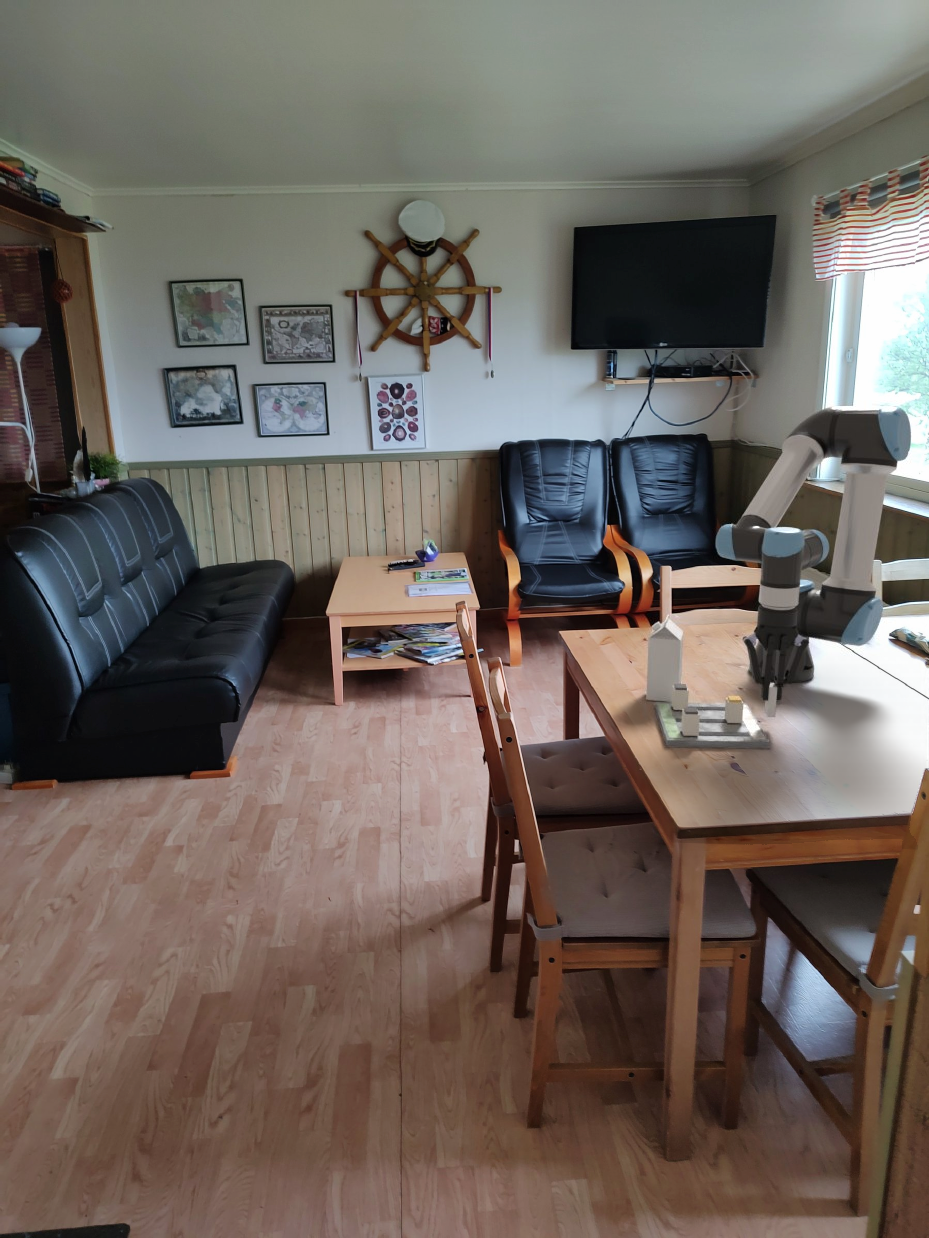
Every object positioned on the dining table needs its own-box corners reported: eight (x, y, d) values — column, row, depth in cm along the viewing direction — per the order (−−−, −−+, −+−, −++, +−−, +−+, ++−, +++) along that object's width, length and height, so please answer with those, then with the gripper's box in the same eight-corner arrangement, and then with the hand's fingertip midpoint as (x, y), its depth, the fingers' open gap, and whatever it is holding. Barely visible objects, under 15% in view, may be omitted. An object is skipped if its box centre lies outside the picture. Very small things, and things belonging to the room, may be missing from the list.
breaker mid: (739, 717, 180) (740, 695, 179) (742, 723, 178) (743, 700, 176) (724, 717, 181) (726, 695, 179) (727, 722, 178) (728, 700, 177)
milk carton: (680, 693, 200) (684, 615, 195) (677, 703, 194) (681, 623, 189) (649, 690, 202) (652, 613, 197) (646, 700, 196) (648, 621, 191)
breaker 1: (685, 704, 188) (686, 683, 187) (687, 709, 185) (688, 688, 184) (671, 704, 188) (672, 683, 187) (673, 709, 186) (674, 688, 184)
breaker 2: (696, 729, 175) (697, 707, 173) (698, 735, 172) (699, 712, 170) (681, 729, 175) (682, 706, 174) (683, 735, 172) (684, 712, 171)
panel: (745, 709, 189) (746, 702, 189) (769, 748, 169) (770, 741, 169) (654, 708, 191) (654, 701, 191) (666, 746, 171) (667, 739, 171)
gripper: (806, 600, 175) (796, 708, 181) (740, 600, 176) (733, 707, 182) (817, 610, 168) (807, 721, 174) (749, 609, 169) (741, 720, 175)
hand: (769, 714), depth 178 cm, fingers closed
